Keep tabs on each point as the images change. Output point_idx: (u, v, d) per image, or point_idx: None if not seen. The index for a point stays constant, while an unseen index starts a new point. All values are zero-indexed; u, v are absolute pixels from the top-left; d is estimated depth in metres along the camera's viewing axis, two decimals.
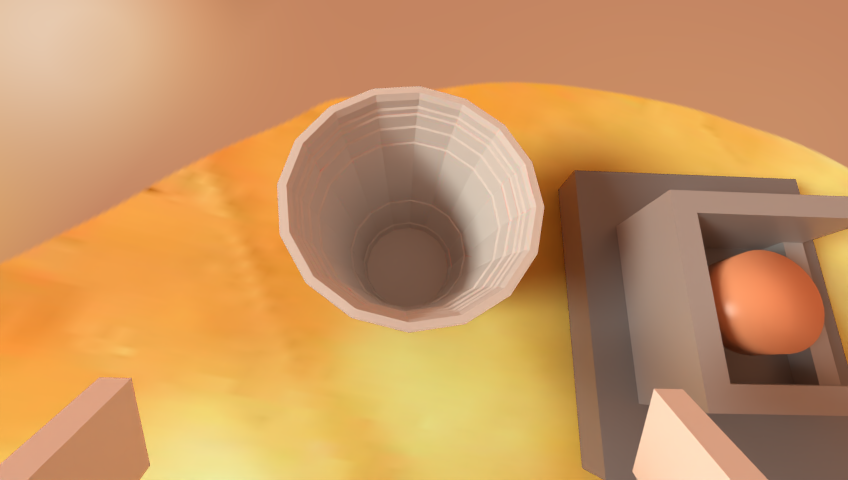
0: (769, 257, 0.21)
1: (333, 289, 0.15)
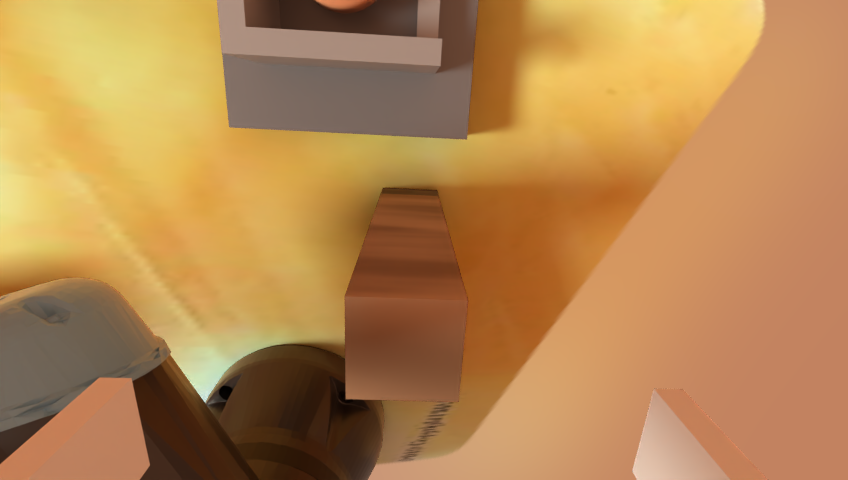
0: None
1: None
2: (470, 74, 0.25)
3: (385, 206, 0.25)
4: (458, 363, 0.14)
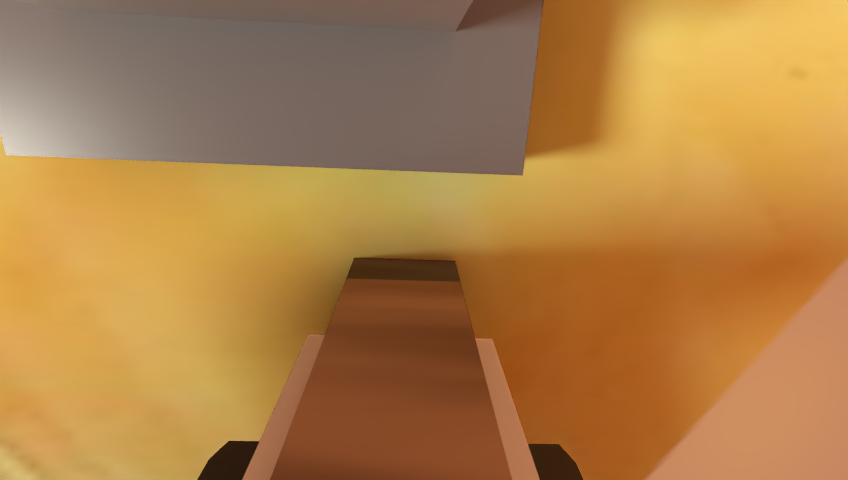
0: None
1: None
2: (535, 32, 0.11)
3: (345, 335, 0.11)
4: None
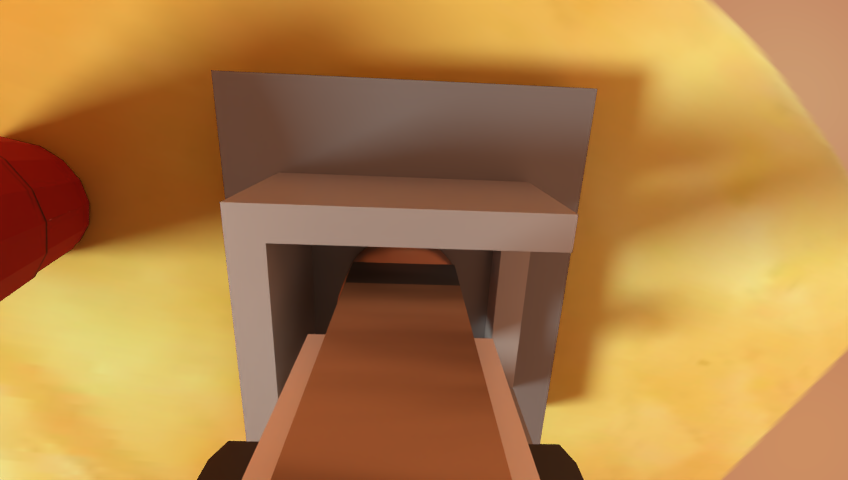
0: (412, 261, 0.16)
1: None
2: (546, 388, 0.21)
3: (344, 340, 0.11)
4: None
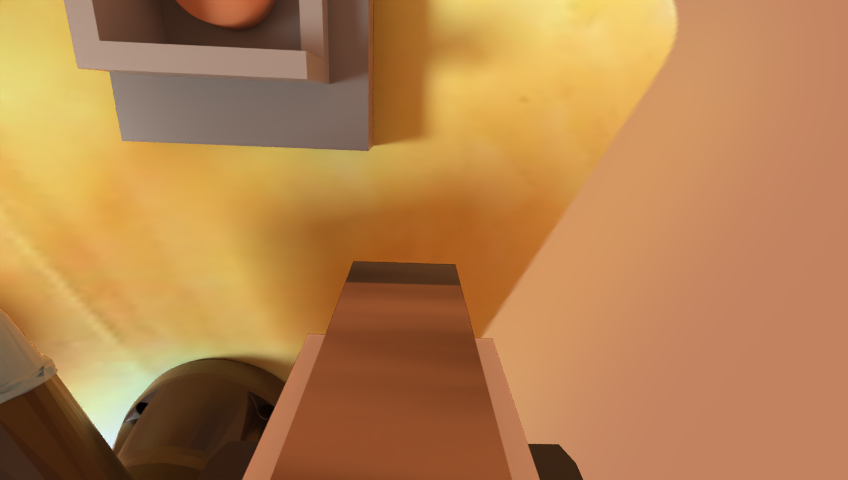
0: None
1: None
2: (366, 84, 0.25)
3: (344, 340, 0.11)
4: None
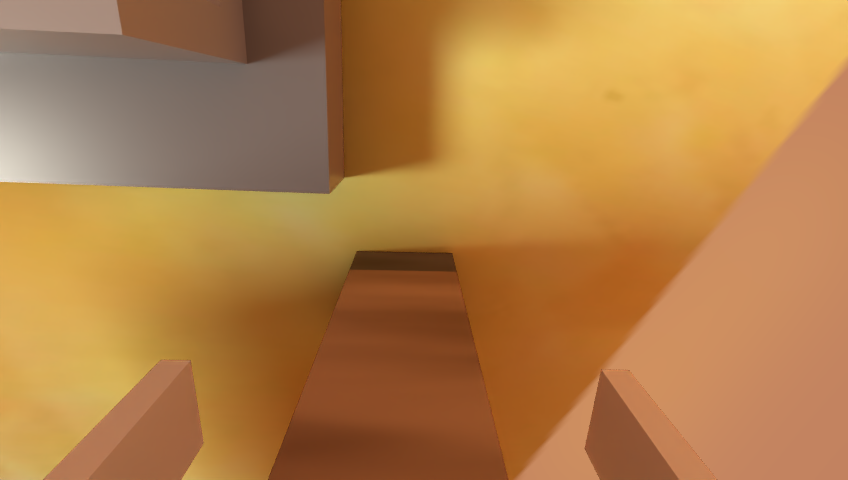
0: None
1: None
2: (322, 64, 0.12)
3: (349, 319, 0.12)
4: None
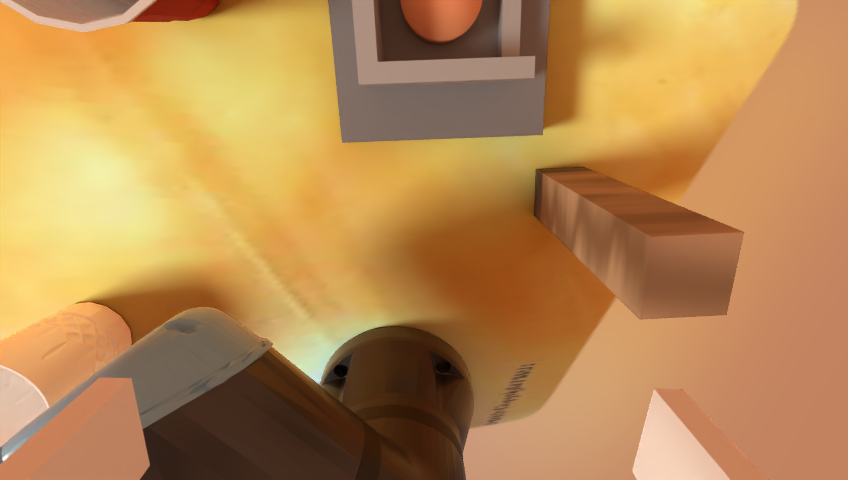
0: None
1: (15, 0, 0.20)
2: (544, 79, 0.30)
3: (565, 181, 0.29)
4: (730, 283, 0.18)
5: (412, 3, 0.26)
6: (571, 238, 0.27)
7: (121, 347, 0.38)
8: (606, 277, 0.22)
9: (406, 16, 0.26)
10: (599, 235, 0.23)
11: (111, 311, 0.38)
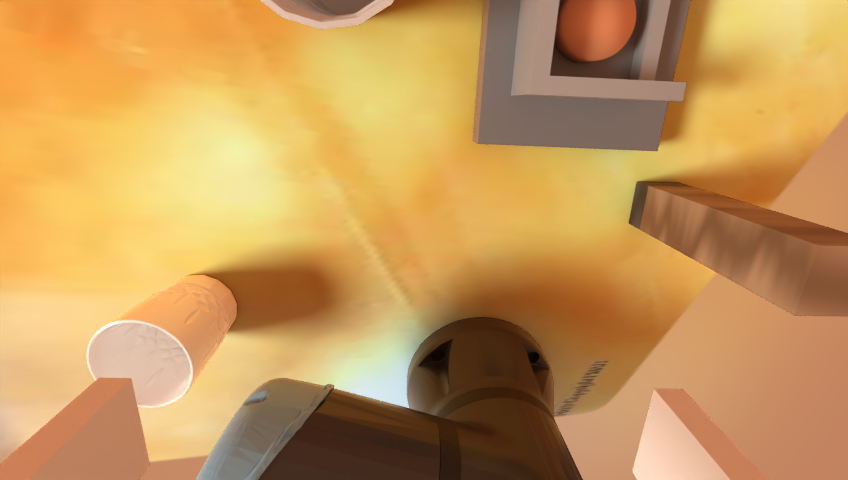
0: None
1: None
2: (666, 101, 0.33)
3: (680, 194, 0.33)
4: None
5: (572, 25, 0.29)
6: (691, 245, 0.30)
7: (231, 319, 0.40)
8: (745, 280, 0.25)
9: (565, 36, 0.29)
10: (738, 243, 0.26)
11: (223, 285, 0.40)
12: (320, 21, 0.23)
